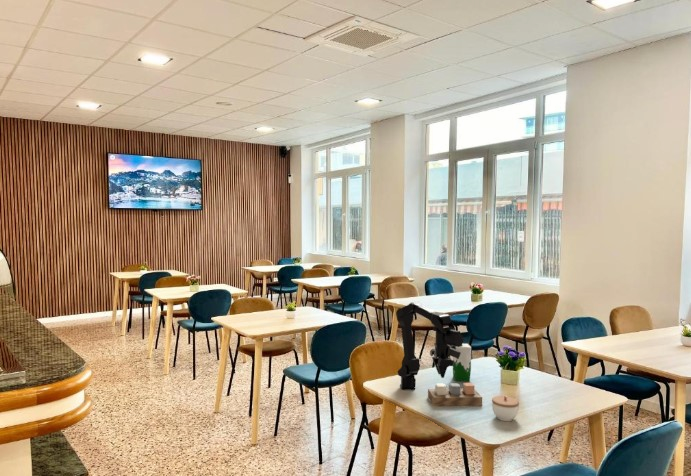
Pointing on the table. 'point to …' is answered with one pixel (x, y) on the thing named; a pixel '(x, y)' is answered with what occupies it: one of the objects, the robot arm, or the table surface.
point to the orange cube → (468, 388)
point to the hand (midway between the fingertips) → (441, 375)
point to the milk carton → (462, 364)
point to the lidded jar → (505, 407)
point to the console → (454, 399)
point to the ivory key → (440, 389)
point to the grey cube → (454, 388)
